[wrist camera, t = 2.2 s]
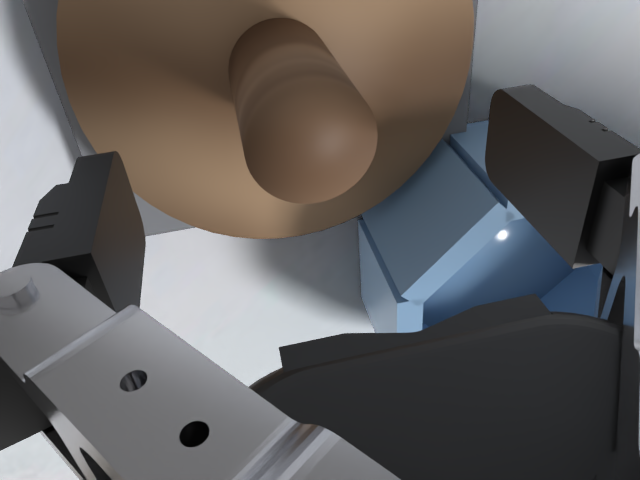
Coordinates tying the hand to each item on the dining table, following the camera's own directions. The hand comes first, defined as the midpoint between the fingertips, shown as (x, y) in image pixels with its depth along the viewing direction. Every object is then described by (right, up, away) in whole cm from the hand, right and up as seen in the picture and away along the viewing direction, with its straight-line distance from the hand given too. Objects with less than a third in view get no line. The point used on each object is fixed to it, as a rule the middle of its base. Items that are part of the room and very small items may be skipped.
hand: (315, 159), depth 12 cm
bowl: (+7, -2, +12) cm, 14 cm away
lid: (-1, +4, +5) cm, 6 cm away
